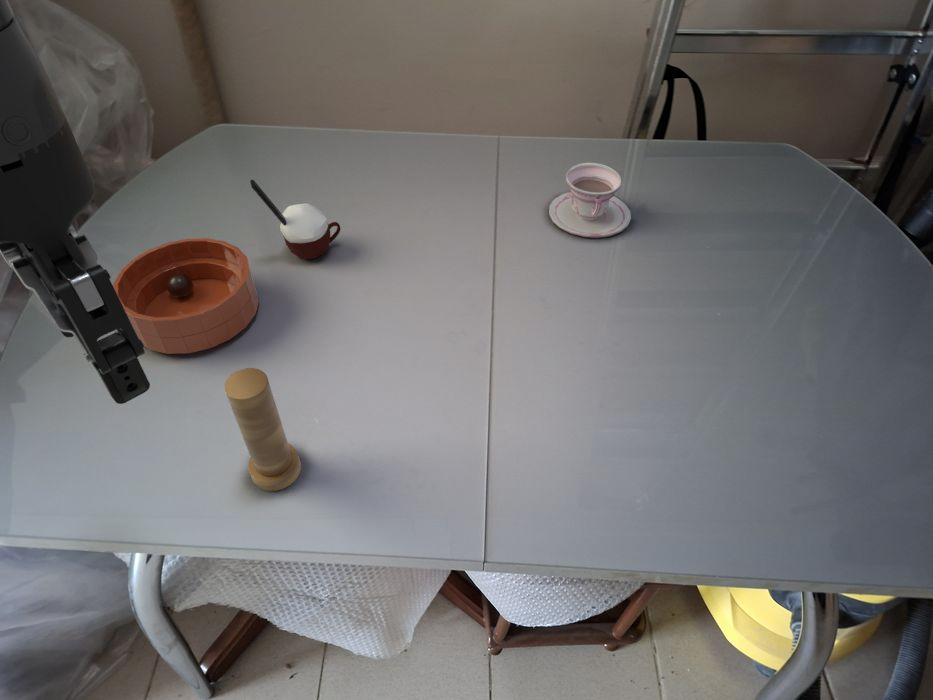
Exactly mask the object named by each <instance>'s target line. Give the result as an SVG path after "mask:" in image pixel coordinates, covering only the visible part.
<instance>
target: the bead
mask: <svg viewBox="0 0 933 700" xmlns="http://www.w3.org/2000/svg"><path fill="white" fill-rule="evenodd" d="M167 289H168V291H169V293H170V294H171V295H173V296H174V297H177V298H184V297H187V296H188V295H190V294H191V292H192V290H193V282H192V280H191V279H190V278H189V277H188V276H187V275H184V274H175V275H173V276H171V277H170V278H169V280H168V282H167Z"/></svg>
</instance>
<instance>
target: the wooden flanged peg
mask: <svg viewBox="0 0 933 700" xmlns="http://www.w3.org/2000/svg"><path fill="white" fill-rule="evenodd" d="M223 388H224V392H225V395H226V397H227V400H228V402H229V406H230V407H231V410H232V412H233V415H234V418H235V421H236V423H237V425H238V428H239V431H240V433H241V437H242V438H243V441H244V444H245V446H246V449H247V451H248V454H249V460H248V464H247V467H248V468H247V469H248V472H249V475H250V477H251V479H252V482H253V484H254V485H255V486H256V487H257V488H258V489H261V490H263V491H266V492H276V491H281V490H284V489H286V488H288V487H289V486H291V485H293V484H294V483H295V482H296V480H297V479H298V477H299V476H300V474H301V471H302V463H301V459H300V456H299V453H298V450H297V449H296V448H295V446H293V445H292V444H290V443H289V442H288V439H287V436H286V432H285V429H284V426H283V422H282V420H281V416H280V413H279V410H278V407H277V403H276V400H275V398H274V394H273V390H272V388H271V385H270V380H269V378H268V375H267V373H265V372H264V371H263V370H261V369H259V368H255V367H247V368H242V369H238V370H237V371H235V372H233V373H231V374H230V375H229V376H228V377H227V379H226V380H225V383H224V387H223Z"/></svg>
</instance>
